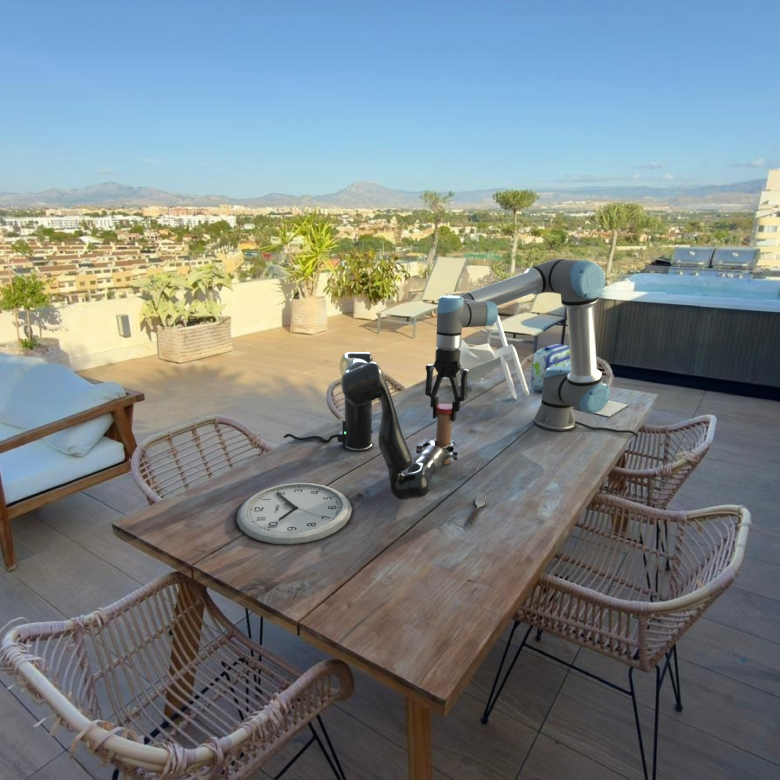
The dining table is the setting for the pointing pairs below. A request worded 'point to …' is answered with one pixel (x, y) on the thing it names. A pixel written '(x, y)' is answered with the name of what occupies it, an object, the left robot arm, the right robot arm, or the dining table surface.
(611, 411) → the invitation card
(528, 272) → the right robot arm
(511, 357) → the white plastic object
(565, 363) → the lunch box
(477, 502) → the fork
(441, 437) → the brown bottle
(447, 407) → the lid
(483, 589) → the dining table surface
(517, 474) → the dining table surface
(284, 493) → the wall clock
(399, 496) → the left robot arm
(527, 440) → the dining table surface
